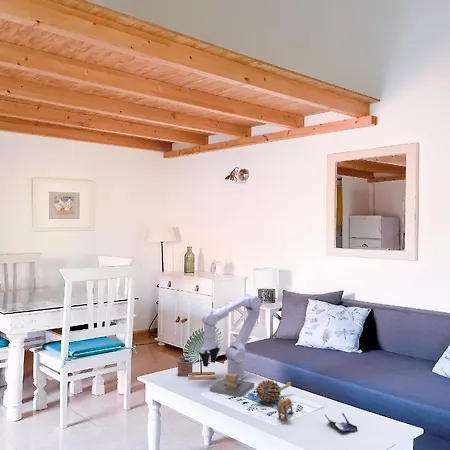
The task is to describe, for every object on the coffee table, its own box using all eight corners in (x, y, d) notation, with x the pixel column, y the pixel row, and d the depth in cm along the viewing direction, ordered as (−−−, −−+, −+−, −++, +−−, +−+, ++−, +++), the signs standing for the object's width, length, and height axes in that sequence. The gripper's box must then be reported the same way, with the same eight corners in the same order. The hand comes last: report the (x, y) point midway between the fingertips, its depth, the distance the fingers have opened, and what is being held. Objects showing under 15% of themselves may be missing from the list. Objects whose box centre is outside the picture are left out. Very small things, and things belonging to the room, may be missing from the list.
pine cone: (267, 409, 211) (267, 386, 211) (250, 403, 217) (250, 381, 217) (297, 396, 227) (297, 374, 227) (280, 391, 233) (280, 370, 233)
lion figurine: (288, 424, 195) (288, 402, 195) (275, 422, 197) (275, 400, 197) (293, 410, 209) (293, 389, 209) (281, 409, 211) (281, 388, 211)
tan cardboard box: (228, 387, 238) (228, 373, 238) (237, 389, 236) (238, 374, 236) (225, 389, 236) (226, 374, 235) (235, 390, 233) (235, 376, 233)
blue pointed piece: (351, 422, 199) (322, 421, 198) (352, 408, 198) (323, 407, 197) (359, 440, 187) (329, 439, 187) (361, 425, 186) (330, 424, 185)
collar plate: (225, 381, 246) (225, 377, 246) (254, 386, 239) (254, 382, 239) (209, 391, 232) (209, 387, 232) (239, 397, 225) (239, 392, 225)
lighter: (193, 374, 257) (193, 356, 257) (192, 377, 253) (192, 357, 253) (178, 374, 258) (178, 355, 258) (176, 376, 254) (176, 357, 254)
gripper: (209, 333, 252) (209, 359, 252) (195, 339, 239) (195, 367, 239) (221, 335, 249) (221, 361, 249) (207, 341, 236) (207, 369, 236)
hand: (209, 364), depth 244 cm, fingers open, 7 cm apart
